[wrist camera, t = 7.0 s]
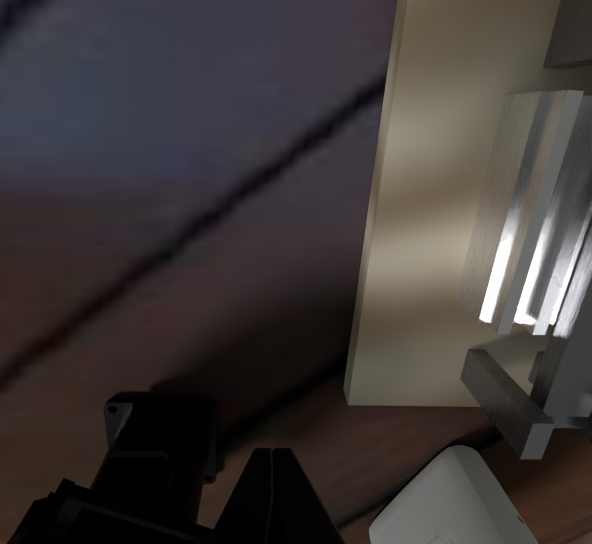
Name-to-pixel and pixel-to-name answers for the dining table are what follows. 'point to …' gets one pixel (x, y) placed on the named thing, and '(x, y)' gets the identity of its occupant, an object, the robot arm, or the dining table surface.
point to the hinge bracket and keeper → (501, 387)
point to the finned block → (530, 212)
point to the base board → (441, 196)
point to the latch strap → (570, 350)
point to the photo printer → (452, 506)
